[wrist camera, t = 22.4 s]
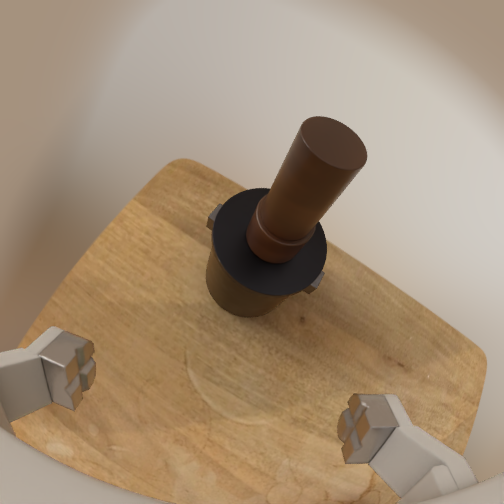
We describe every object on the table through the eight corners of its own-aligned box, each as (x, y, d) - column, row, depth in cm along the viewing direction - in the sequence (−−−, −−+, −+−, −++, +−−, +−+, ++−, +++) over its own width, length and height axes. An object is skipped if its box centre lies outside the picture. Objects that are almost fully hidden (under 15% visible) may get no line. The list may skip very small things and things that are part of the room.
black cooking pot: (179, 282, 27) (180, 242, 20) (229, 219, 31) (246, 166, 24) (267, 341, 27) (303, 324, 19) (307, 271, 31) (348, 233, 23)
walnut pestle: (235, 242, 21) (279, 138, 12) (263, 204, 22) (313, 101, 14) (284, 274, 20) (360, 191, 12) (308, 233, 22) (380, 144, 13)
